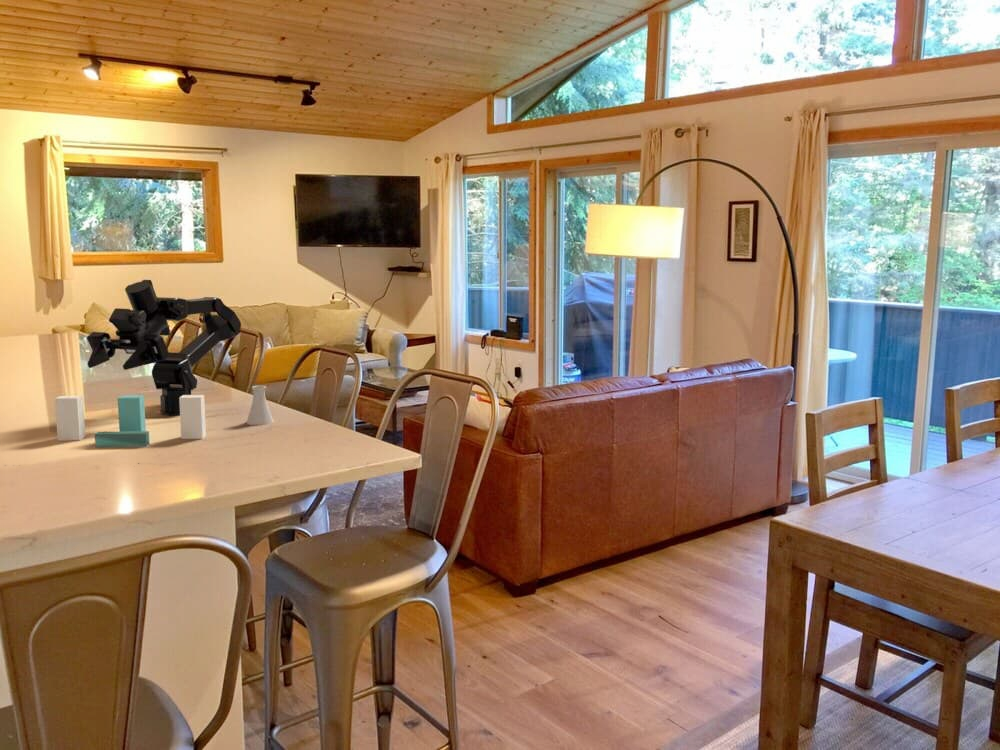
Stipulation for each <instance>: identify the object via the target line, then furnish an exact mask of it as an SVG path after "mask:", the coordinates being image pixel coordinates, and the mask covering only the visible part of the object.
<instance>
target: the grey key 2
mask: <svg viewBox="0 0 1000 750" xmlns="http://www.w3.org/2000/svg"><path fill="white" fill-rule="evenodd" d="M179 403H180V414H179V419H180V420H179V421H180V439H181V440H203V439H204V438H205V437H207V428H206V427H207V426H206V406H205V403H206V401H205V394H191V395H182V396H181V397H179Z"/></svg>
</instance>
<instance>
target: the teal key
mask: <svg viewBox="0 0 1000 750" xmlns="http://www.w3.org/2000/svg"><path fill="white" fill-rule="evenodd" d="M145 407H146V406H145V395H144V394H140V395H135V394H134V395H131V394H130V395H125V394H124V395H121V396H119V397H117V411H118V415H117V416H118V427H119V431H118V432H126V431H147V429H146V428H147V426H146V409H145Z"/></svg>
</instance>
